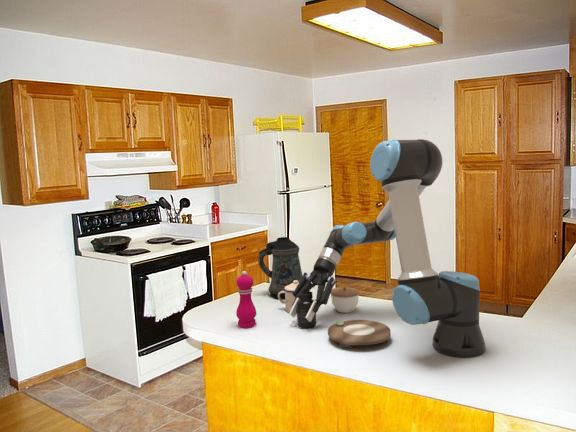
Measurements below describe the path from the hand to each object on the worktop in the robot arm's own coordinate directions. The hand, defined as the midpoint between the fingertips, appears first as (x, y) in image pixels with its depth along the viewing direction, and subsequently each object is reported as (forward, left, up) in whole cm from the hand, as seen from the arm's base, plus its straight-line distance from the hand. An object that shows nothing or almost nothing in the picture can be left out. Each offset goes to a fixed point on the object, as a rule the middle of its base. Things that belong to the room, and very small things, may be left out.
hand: (299, 317), depth 172 cm
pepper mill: (+18, +8, -4) cm, 20 cm away
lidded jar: (-1, -26, -4) cm, 26 cm away
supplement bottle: (0, -4, -4) cm, 6 cm away
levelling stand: (-22, -4, -4) cm, 23 cm away
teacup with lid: (+16, -15, -4) cm, 22 cm away
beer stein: (+32, -28, -4) cm, 42 cm away
